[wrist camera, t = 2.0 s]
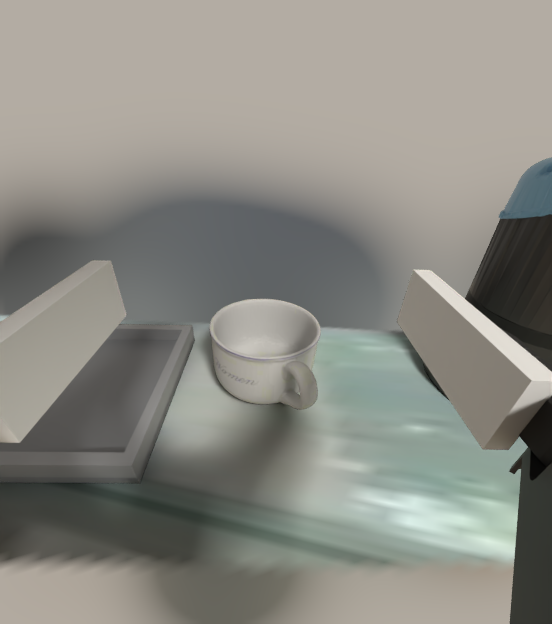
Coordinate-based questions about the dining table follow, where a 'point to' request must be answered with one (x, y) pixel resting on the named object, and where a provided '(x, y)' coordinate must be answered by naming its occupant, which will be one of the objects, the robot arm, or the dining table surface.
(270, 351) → the teacup
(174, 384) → the tray
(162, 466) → the dining table surface
